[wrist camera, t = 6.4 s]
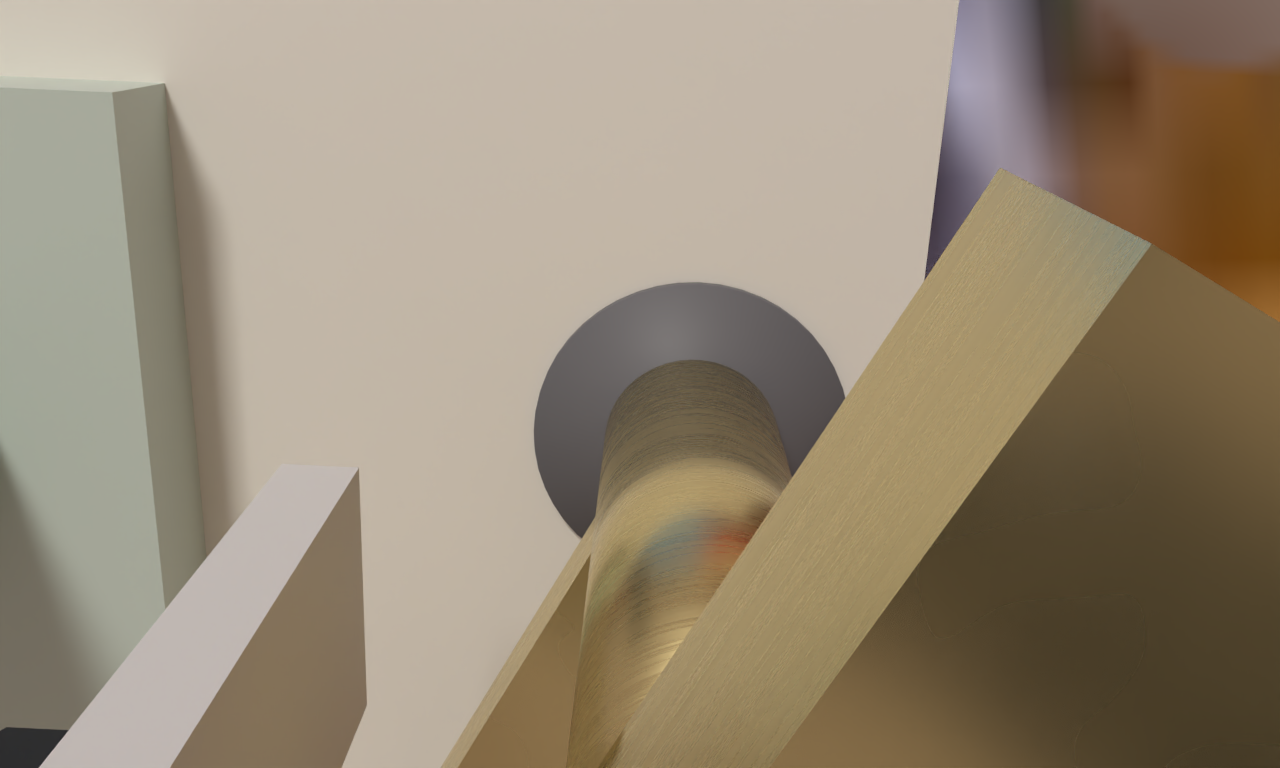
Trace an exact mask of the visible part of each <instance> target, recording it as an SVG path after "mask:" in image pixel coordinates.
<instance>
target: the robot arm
mask: <svg viewBox="0 0 1280 768" xmlns="http://www.w3.org/2000/svg"><path fill="white" fill-rule="evenodd" d="M366 707H367V689H366V660H365V630H364V601H363V571H362V542H361V512H360V483H359V468H357V467H337V466H317V465H296V464H281V466H280V467H279V468H278V469H277V471H276V472H275V473H274V474H273V476H272V477H271V478H270V479H269V481H268V482H267V483H266V484H265V486H264V487H263V488H262V489H261V491H260V492H259V493H258V494H257V496H256V497H255V498H254V499H253V501H252V502H251V503H250V504H249V506H248V507H247V508H246V509H245V511H244V512H243V513H242V514H241V516H240V517H239V518H238V519H237V521H236V522H235V523H234V524H233V526H232V527H231V528H230V529H229V531H228V532H227V533H226V534H225V536H224V537H223V538H222V539H221V541H220V542H219V543H218V544H217V546H216V547H215V548H214V549H213V551H212V552H211V553H210V554H209V556H208V557H207V558H206V559H205V561H204V562H203V563H202V564H201V566H200V567H199V568H198V569H197V571H196V572H195V573H194V574H193V576H192V577H191V578H190V579H189V581H188V582H187V583H186V584H185V586H184V587H183V588H182V589H181V591H180V592H179V593H178V594H177V596H176V597H175V598H174V599H173V601H172V602H171V603H170V604H169V606H168V607H167V608H166V609H165V611H164V612H163V613H162V614H161V616H160V617H159V618H158V619H157V621H156V622H155V623H154V624H153V626H152V627H151V628H150V629H149V631H148V632H147V633H146V634H145V636H144V637H143V638H142V639H141V641H140V642H139V643H138V644H137V646H136V647H135V648H134V649H133V651H132V652H131V653H130V654H129V656H128V657H127V658H126V659H125V661H124V662H123V663H122V664H121V666H120V667H119V668H118V669H117V671H116V672H115V673H114V674H113V676H112V677H111V678H110V679H109V681H108V682H107V683H106V684H105V686H104V687H103V688H102V689H101V691H100V692H99V693H98V694H97V696H96V697H95V698H94V699H93V701H92V702H91V703H90V704H89V706H88V707H87V708H86V709H85V711H84V712H83V713H82V714H81V716H80V717H79V718H78V719H77V721H76V722H75V723H74V724H73V726H72V727H71V728H70V729H69V730H56V729H35V728H14V727H6V728H4V729H2V730H1V731H0V768H342V766H343V763H344V761H345V758H346V756H347V753H348V751H349V748H350V746H351V743H352V741H353V739H354V736H355V734H356V731H357V729H358V726H359V724H360V721H361V719H362V716H363V714H364V712H365V709H366Z"/></svg>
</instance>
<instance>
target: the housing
mask: <svg viewBox="0 0 1280 768" xmlns="http://www.w3.org/2000/svg"><path fill="white" fill-rule="evenodd" d="M958 5H959V0H0V76H16V77H38V78H61V79H84V80H106V81H129V82H151V83H165V92H166V103H167V115H168V126H169V137H170V149H171V160H172V172H173V183H174V194H175V206H176V217H177V228H178V240H179V251H180V262H181V274H182V285H183V296H184V308H185V319H186V330H187V342H188V353H189V364H190V376H191V387H192V398H193V410H194V421H195V432H196V444H197V455H198V466H199V478H200V489H201V500H202V512H203V523H204V535H205V546H206V557H208V556H209V554H210V553H211V552H212V551H213V549H214V548H215V547H216V546H217V544H218V543H219V542H220V541H221V539H222V538H223V537H224V536H225V534H226V533H227V532H228V531H229V529H230V528H231V527H232V526H233V524H234V523H235V522H236V521H237V519H238V518H239V517H240V516H241V514H242V513H243V512H244V511H245V509H246V508H247V507H248V506H249V504H250V503H251V502H252V501H253V499H254V498H255V497H256V496H257V494H258V493H259V492H260V491H261V489H262V488H263V487H264V486H265V484H266V483H267V482H268V481H269V479H270V478H271V477H272V476H273V474H274V473H275V472H276V471H277V469H278V468H279V467H280V466H281V464H296V465H317V466H337V467H357V468H359V483H360V512H361V542H362V571H363V601H364V630H365V660H366V689H367V707H366V709H365V712H364V714H363V716H362V719H361V721H360V724H359V726H358V729H357V731H356V734H355V736H354V739H353V741H352V743H351V746H350V748H349V751H348V753H347V756H346V758H345V761H344V763H343V766H342V768H441V766H442V764H443V763H444V761H445V760H446V758H447V756H448V755H449V753H450V751H451V750H452V748H453V747H454V745H455V743H456V742H457V740H458V738H459V737H460V735H461V734H462V732H463V730H464V729H465V727H466V726H467V724H468V722H469V721H470V719H471V717H472V716H473V714H474V713H475V711H476V709H477V708H478V706H479V704H480V703H481V701H482V700H483V698H484V696H485V695H486V693H487V691H488V690H489V688H490V687H491V685H492V683H493V682H494V680H495V679H496V677H497V675H498V674H499V672H500V670H501V669H502V667H503V666H504V664H505V662H506V661H507V659H508V657H509V656H510V654H511V653H512V651H513V649H514V648H515V646H516V644H517V643H518V641H519V640H520V638H521V636H522V635H523V633H524V632H525V630H526V628H527V627H528V625H529V623H530V622H531V620H532V619H533V617H534V615H535V614H536V612H537V610H538V609H539V607H540V606H541V604H542V602H543V601H544V599H545V597H546V596H547V594H548V593H549V591H550V589H551V588H552V586H553V585H554V583H555V581H556V580H557V578H558V576H559V575H560V573H561V572H562V570H563V568H564V567H565V565H566V563H567V562H568V560H569V559H570V557H571V555H572V554H573V552H574V550H575V549H576V547H577V546H578V544H579V542H580V541H581V539H582V538H583V536H584V534H585V533H586V531H587V529H588V528H589V526H590V525H591V523H592V521H593V520H594V518H595V516H596V507H597V499H598V490H599V482H600V473H601V465H602V456H603V448H604V439H605V431H606V426H607V421H608V418H609V415H610V413H611V410H612V408H613V406H614V404H615V402H616V401H617V399H618V398H619V396H620V395H621V394H622V392H623V391H624V390H625V389H626V388H627V387H628V386H629V385H630V384H631V383H632V382H633V381H634V380H635V379H637V378H638V377H639V376H641V375H642V374H644V373H646V372H647V371H649V370H651V369H653V368H655V367H658V366H660V365H663V364H666V363H670V362H675V361H680V360H705V361H710V362H715V363H718V364H721V365H725V366H727V367H729V368H731V369H734V370H736V371H737V372H739V373H741V374H742V375H744V376H745V377H747V378H748V379H749V380H750V381H751V382H753V383H754V384H755V385H756V386H757V387H758V389H759V390H760V391H761V392H762V393H763V395H764V396H765V398H766V399H767V401H768V402H769V404H770V406H771V408H772V410H773V413H774V416H775V419H776V422H777V426H778V429H779V433H780V436H781V440H782V444H783V447H784V451H785V454H786V458H787V461H788V465H789V469H790V472H791V476H792V477H793V476H794V474H795V473H796V471H797V470H798V468H799V467H800V465H801V464H802V462H803V461H804V459H805V458H806V456H807V455H808V453H809V452H810V450H811V449H812V447H813V446H814V444H815V443H816V441H817V440H818V438H819V437H820V435H821V434H822V432H823V431H824V430H825V428H826V427H827V425H828V424H829V422H830V421H831V419H832V418H833V416H834V415H835V413H836V412H837V410H838V409H839V407H840V406H841V404H842V403H843V401H844V400H845V398H846V397H847V395H848V394H849V392H850V391H851V389H852V388H853V386H854V385H855V383H856V382H857V380H858V379H859V377H860V376H861V374H862V373H863V371H864V370H865V368H866V367H867V365H868V364H869V362H870V361H871V359H872V358H873V356H874V355H875V353H876V352H877V350H878V349H879V348H880V346H881V345H882V343H883V342H884V340H885V339H886V337H887V336H888V334H889V333H890V331H891V330H892V328H893V327H894V325H895V324H896V322H897V321H898V319H899V318H900V316H901V315H902V313H903V312H904V310H905V309H906V307H907V306H908V304H909V303H910V301H911V300H912V298H913V297H914V295H915V294H916V292H917V291H918V289H919V288H920V286H921V285H922V283H923V282H924V279H925V270H926V262H927V254H928V246H929V238H930V230H931V222H932V214H933V206H934V198H935V190H936V182H937V174H938V166H939V158H940V150H941V142H942V134H943V126H944V118H945V110H946V102H947V94H948V86H949V78H950V70H951V61H952V53H953V45H954V37H955V29H956V21H957V13H958Z"/></svg>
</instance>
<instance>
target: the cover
mask: <svg viewBox="0 0 1280 768" xmlns="http://www.w3.org/2000/svg"><path fill="white" fill-rule="evenodd" d="M206 558H207V557H206V546H205V535H204V523H203V512H202V500H201V489H200V478H199V466H198V455H197V444H196V432H195V421H194V410H193V398H192V387H191V376H190V364H189V353H188V342H187V330H186V319H185V308H184V296H183V285H182V274H181V262H180V251H179V240H178V228H177V217H176V206H175V194H174V183H173V172H172V160H171V149H170V137H169V126H168V115H167V103H166V92H165V83H151V82H129V81H106V80H84V79H61V78H38V77H16V76H0V731H1V730H2V729H4V728H6V727H14V728H35V729H56V730H69V729H70V728H71V727H72V726H73V724H74V723H75V722H76V721H77V719H78V718H79V717H80V716H81V714H82V713H83V712H84V711H85V709H86V708H87V707H88V706H89V704H90V703H91V702H92V701H93V699H94V698H95V697H96V696H97V694H98V693H99V692H100V691H101V689H102V688H103V687H104V686H105V684H106V683H107V682H108V681H109V679H110V678H111V677H112V676H113V674H114V673H115V672H116V671H117V669H118V668H119V667H120V666H121V664H122V663H123V662H124V661H125V659H126V658H127V657H128V656H129V654H130V653H131V652H132V651H133V649H134V648H135V647H136V646H137V644H138V643H139V642H140V641H141V639H142V638H143V637H144V636H145V634H146V633H147V632H148V631H149V629H150V628H151V627H152V626H153V624H154V623H155V622H156V621H157V619H158V618H159V617H160V616H161V614H162V613H163V612H164V611H165V609H166V608H167V607H168V606H169V604H170V603H171V602H172V601H173V599H174V598H175V597H176V596H177V594H178V593H179V592H180V591H181V589H182V588H183V587H184V586H185V584H186V583H187V582H188V581H189V579H190V578H191V577H192V576H193V574H194V573H195V572H196V571H197V569H198V568H199V567H200V566H201V564H202V563H203V562H204V561H205V559H206Z"/></svg>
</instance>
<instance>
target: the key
mask: <svg viewBox="0 0 1280 768" xmlns="http://www.w3.org/2000/svg"><path fill="white" fill-rule="evenodd" d="M441 768H1280V322H1278V321H1277V320H1275V319H1273V318H1272V317H1270V316H1268V315H1267V314H1265V313H1264V312H1262V311H1260V310H1259V309H1257V308H1255V307H1254V306H1252V305H1251V304H1249V303H1247V302H1246V301H1244V300H1242V299H1241V298H1239V297H1238V296H1236V295H1234V294H1233V293H1231V292H1229V291H1228V290H1226V289H1224V288H1223V287H1221V286H1220V285H1218V284H1216V283H1215V282H1213V281H1211V280H1210V279H1208V278H1207V277H1205V276H1203V275H1202V274H1200V273H1198V272H1197V271H1195V270H1194V269H1192V268H1190V267H1189V266H1187V265H1185V264H1184V263H1182V262H1181V261H1179V260H1177V259H1176V258H1174V257H1172V256H1171V255H1169V254H1167V253H1166V252H1164V251H1163V250H1161V249H1159V248H1158V247H1156V246H1154V245H1153V244H1151V243H1149V242H1147V241H1145V240H1143V239H1141V238H1139V237H1137V236H1135V235H1133V234H1131V233H1129V232H1127V231H1125V230H1123V229H1121V228H1119V227H1117V226H1115V225H1113V224H1111V223H1109V222H1107V221H1105V220H1103V219H1101V218H1099V217H1097V216H1095V215H1093V214H1091V213H1089V212H1087V211H1085V210H1083V209H1081V208H1079V207H1077V206H1075V205H1073V204H1071V203H1069V202H1067V201H1065V200H1063V199H1061V198H1059V197H1057V196H1055V195H1053V194H1051V193H1049V192H1047V191H1045V190H1043V189H1041V188H1039V187H1037V186H1035V185H1033V184H1031V183H1029V182H1027V181H1025V180H1023V179H1021V178H1020V177H1018V176H1016V175H1014V174H1012V173H1010V172H1008V171H1006V170H1004V169H1002V168H1000V169H999V170H998V172H997V173H996V175H995V176H994V178H993V179H992V181H991V182H990V184H989V185H988V186H987V188H986V189H985V191H984V192H983V194H982V195H981V197H980V198H979V200H978V201H977V203H976V204H975V206H974V207H973V209H972V210H971V212H970V213H969V215H968V216H967V218H966V219H965V221H964V222H963V224H962V225H961V227H960V228H959V230H958V231H957V233H956V234H955V236H954V237H953V239H952V240H951V242H950V243H949V245H948V246H947V248H946V249H945V251H944V252H943V254H942V255H941V257H940V258H939V260H938V261H937V263H936V264H935V266H934V267H933V268H932V270H931V271H930V273H929V274H928V276H927V277H926V279H925V280H924V282H923V283H922V285H921V286H920V288H919V289H918V291H917V292H916V294H915V295H914V297H913V298H912V300H911V301H910V303H909V304H908V306H907V307H906V309H905V310H904V312H903V313H902V315H901V316H900V318H899V319H898V321H897V322H896V324H895V325H894V327H893V328H892V330H891V331H890V333H889V334H888V336H887V337H886V339H885V340H884V342H883V343H882V345H881V346H880V348H879V349H878V350H877V352H876V353H875V355H874V356H873V358H872V359H871V361H870V362H869V364H868V365H867V367H866V368H865V370H864V371H863V373H862V374H861V376H860V377H859V379H858V380H857V382H856V383H855V385H854V386H853V388H852V389H851V391H850V392H849V394H848V395H847V397H846V398H845V400H844V401H843V403H842V404H841V406H840V407H839V409H838V410H837V412H836V413H835V415H834V416H833V418H832V419H831V421H830V422H829V424H828V425H827V427H826V428H825V430H824V431H823V432H822V434H821V435H820V437H819V438H818V440H817V441H816V443H815V444H814V446H813V447H812V449H811V450H810V452H809V453H808V455H807V456H806V458H805V459H804V461H803V462H802V464H801V465H800V467H799V468H798V470H797V471H796V473H795V474H794V476H793V477H792V476H791V472H790V469H789V465H788V461H787V458H786V454H785V451H784V447H783V444H782V440H781V436H780V433H779V429H778V426H777V422H776V419H775V416H774V413H773V410H772V408H771V406H770V404H769V402H768V401H767V399H766V398H765V396H764V395H763V393H762V392H761V391H760V390H759V389H758V387H757V386H756V385H755V384H754V383H753V382H751V381H750V380H749V379H748V378H747V377H745V376H744V375H742V374H741V373H739V372H737V371H736V370H734V369H731V368H729V367H727V366H725V365H721V364H718V363H715V362H710V361H705V360H680V361H675V362H670V363H666V364H663V365H660V366H658V367H655V368H653V369H651V370H649V371H647V372H646V373H644V374H642V375H641V376H639V377H638V378H637V379H635V380H634V381H633V382H632V383H631V384H630V385H629V386H628V387H627V388H626V389H625V390H624V391H623V392H622V394H621V395H620V396H619V398H618V399H617V401H616V402H615V404H614V406H613V408H612V410H611V413H610V415H609V418H608V421H607V426H606V431H605V439H604V448H603V456H602V465H601V473H600V482H599V490H598V499H597V507H596V516H595V518H594V520H593V521H592V523H591V525H590V526H589V528H588V529H587V531H586V533H585V534H584V536H583V538H582V539H581V541H580V542H579V544H578V546H577V547H576V549H575V550H574V552H573V554H572V555H571V557H570V559H569V560H568V562H567V563H566V565H565V567H564V568H563V570H562V572H561V573H560V575H559V576H558V578H557V580H556V581H555V583H554V585H553V586H552V588H551V589H550V591H549V593H548V594H547V596H546V597H545V599H544V601H543V602H542V604H541V606H540V607H539V609H538V610H537V612H536V614H535V615H534V617H533V619H532V620H531V622H530V623H529V625H528V627H527V628H526V630H525V632H524V633H523V635H522V636H521V638H520V640H519V641H518V643H517V644H516V646H515V648H514V649H513V651H512V653H511V654H510V656H509V657H508V659H507V661H506V662H505V664H504V666H503V667H502V669H501V670H500V672H499V674H498V675H497V677H496V679H495V680H494V682H493V683H492V685H491V687H490V688H489V690H488V691H487V693H486V695H485V696H484V698H483V700H482V701H481V703H480V704H479V706H478V708H477V709H476V711H475V713H474V714H473V716H472V717H471V719H470V721H469V722H468V724H467V726H466V727H465V729H464V730H463V732H462V734H461V735H460V737H459V738H458V740H457V742H456V743H455V745H454V747H453V748H452V750H451V751H450V753H449V755H448V756H447V758H446V760H445V761H444V763H443V764H442V766H441Z"/></svg>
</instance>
